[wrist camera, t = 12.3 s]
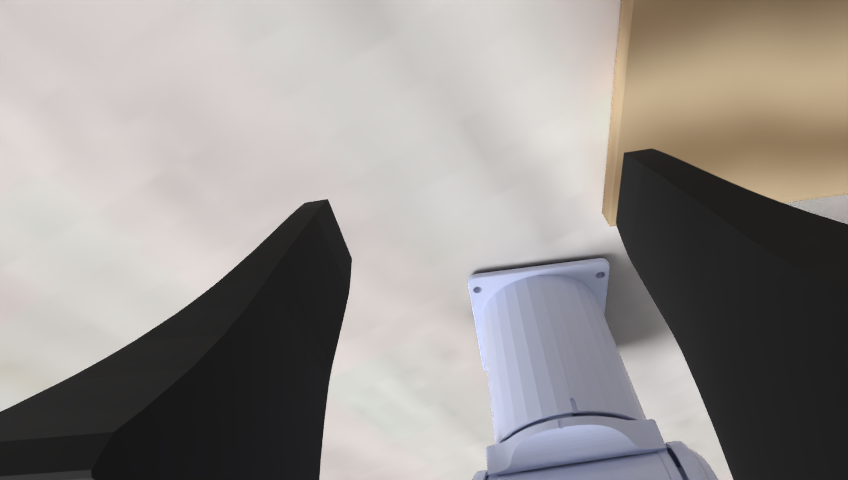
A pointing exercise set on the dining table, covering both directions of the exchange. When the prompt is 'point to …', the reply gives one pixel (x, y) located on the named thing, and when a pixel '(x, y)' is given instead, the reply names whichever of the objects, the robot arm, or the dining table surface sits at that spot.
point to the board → (735, 93)
